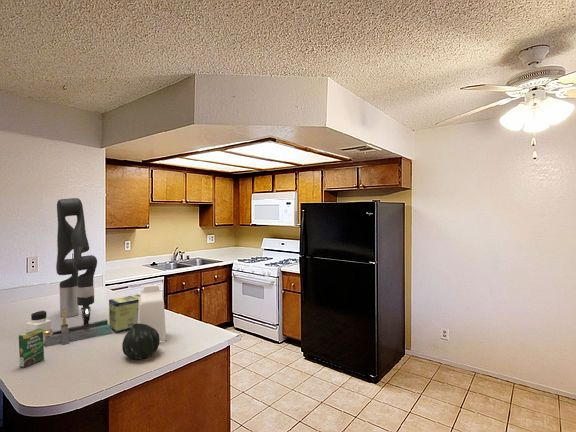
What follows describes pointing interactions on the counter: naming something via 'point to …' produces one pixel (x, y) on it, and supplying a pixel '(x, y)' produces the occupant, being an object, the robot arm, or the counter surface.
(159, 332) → the milk
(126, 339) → the squash
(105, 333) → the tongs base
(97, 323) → the tong arm
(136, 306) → the protein box
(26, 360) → the coffee box
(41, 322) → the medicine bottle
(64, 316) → the lock pin
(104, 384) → the counter surface
